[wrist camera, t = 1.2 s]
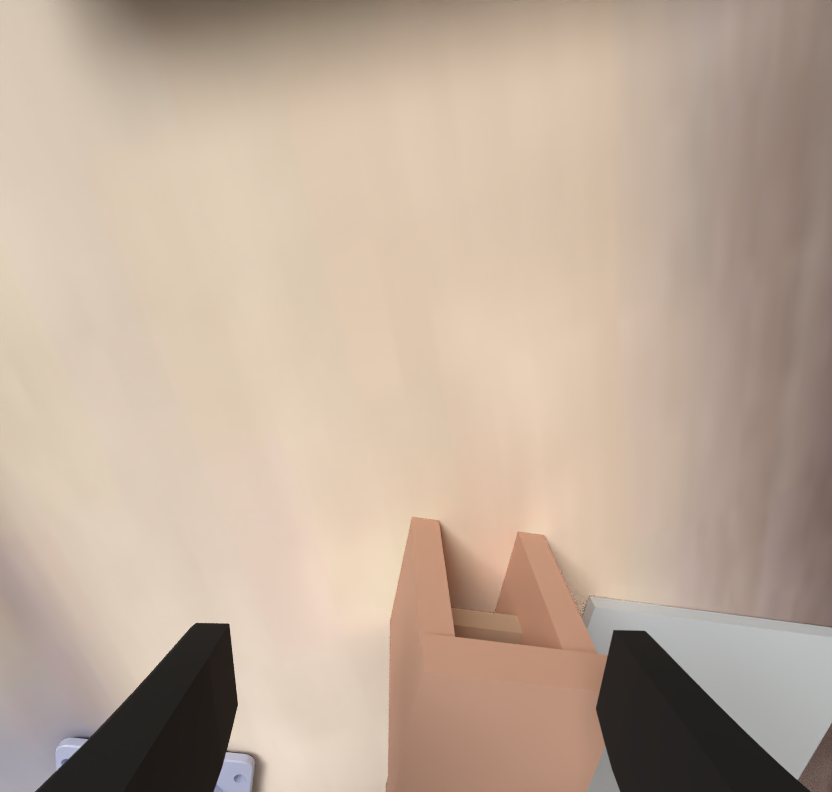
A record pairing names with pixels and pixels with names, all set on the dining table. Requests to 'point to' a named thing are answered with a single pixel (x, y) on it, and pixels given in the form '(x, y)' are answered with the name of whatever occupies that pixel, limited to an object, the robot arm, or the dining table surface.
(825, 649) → the mat
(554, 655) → the tan slotted block
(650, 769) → the robot arm
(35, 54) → the dining table surface
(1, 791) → the dining table surface
